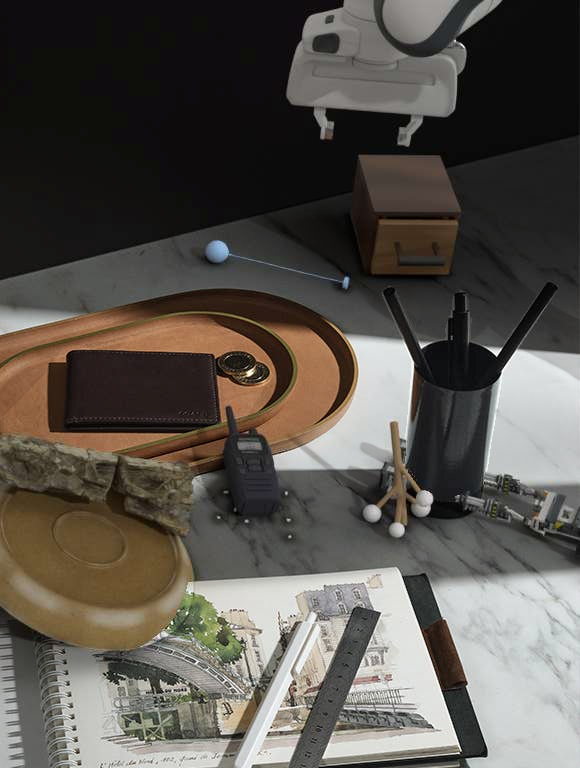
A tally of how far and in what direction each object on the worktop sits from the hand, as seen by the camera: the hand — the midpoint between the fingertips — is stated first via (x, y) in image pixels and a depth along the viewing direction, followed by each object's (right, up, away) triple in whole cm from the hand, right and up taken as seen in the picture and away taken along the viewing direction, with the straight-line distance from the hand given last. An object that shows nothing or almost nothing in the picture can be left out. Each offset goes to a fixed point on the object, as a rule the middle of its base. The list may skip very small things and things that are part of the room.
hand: (364, 141), depth 158 cm
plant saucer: (-33, -47, -32) cm, 65 cm away
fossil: (-35, -40, -25) cm, 58 cm away
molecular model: (-9, -14, +16) cm, 24 cm away
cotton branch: (-2, -35, -23) cm, 42 cm away
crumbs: (-16, -45, -19) cm, 51 cm away
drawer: (+9, -11, +18) cm, 23 cm away
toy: (-1, -40, -16) cm, 43 cm away
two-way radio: (-15, -45, -21) cm, 52 cm away
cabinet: (+9, -9, +22) cm, 26 cm away
